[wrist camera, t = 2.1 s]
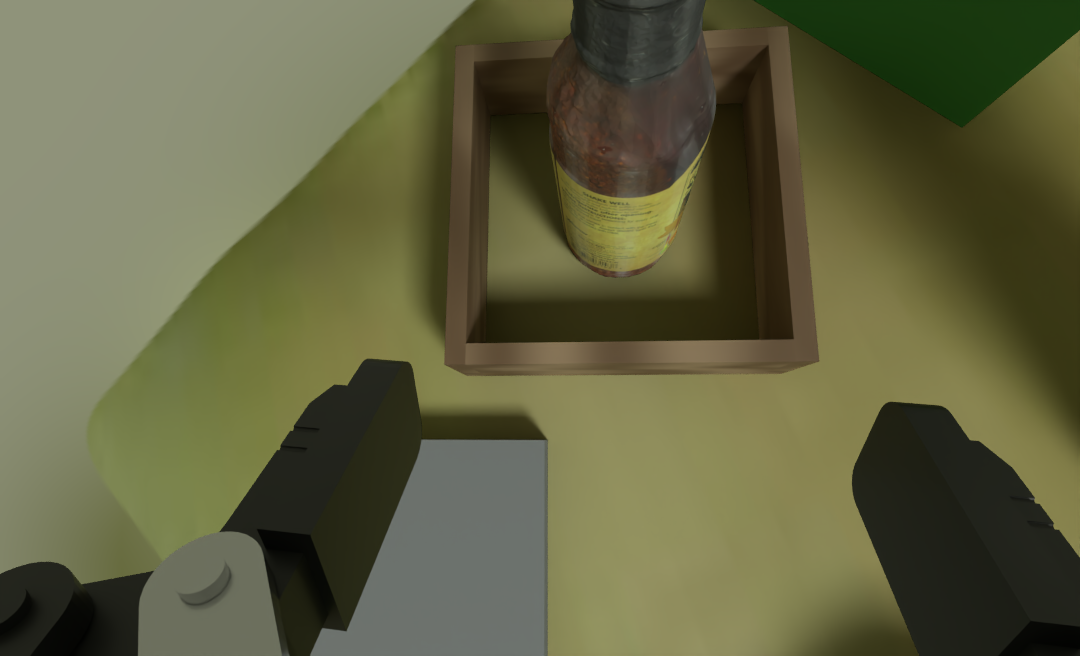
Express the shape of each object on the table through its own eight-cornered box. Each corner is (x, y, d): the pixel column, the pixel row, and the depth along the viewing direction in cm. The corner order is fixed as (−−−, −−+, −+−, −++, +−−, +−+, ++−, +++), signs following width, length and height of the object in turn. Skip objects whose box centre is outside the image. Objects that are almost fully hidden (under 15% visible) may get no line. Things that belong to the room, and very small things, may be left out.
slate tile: (547, 439, 30) (544, 440, 28) (547, 684, 28) (544, 703, 26) (333, 439, 31) (316, 439, 29) (316, 675, 29) (296, 692, 27)
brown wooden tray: (758, 87, 33) (787, 25, 28) (781, 373, 30) (819, 361, 25) (474, 101, 34) (455, 45, 29) (467, 375, 31) (444, 364, 26)
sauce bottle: (688, 261, 31) (851, -24, 12) (583, 296, 31) (571, 70, 12) (649, 160, 33) (736, -246, 13) (548, 194, 33) (487, -159, 13)
